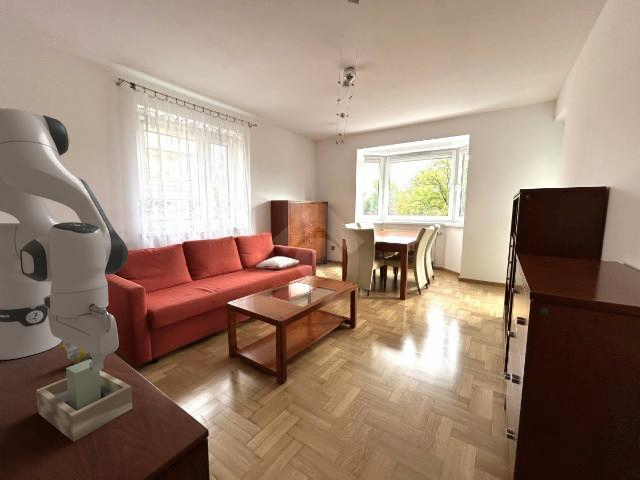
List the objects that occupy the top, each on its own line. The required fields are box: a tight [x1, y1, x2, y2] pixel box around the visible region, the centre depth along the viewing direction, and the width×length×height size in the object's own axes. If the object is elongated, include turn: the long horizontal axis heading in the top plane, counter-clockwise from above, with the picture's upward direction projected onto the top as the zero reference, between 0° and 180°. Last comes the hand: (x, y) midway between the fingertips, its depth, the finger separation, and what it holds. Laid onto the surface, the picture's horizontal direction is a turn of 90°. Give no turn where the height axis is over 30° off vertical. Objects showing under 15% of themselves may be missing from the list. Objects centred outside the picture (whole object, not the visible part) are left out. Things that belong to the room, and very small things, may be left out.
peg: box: [66, 359, 101, 411], centre depth 57 cm, size 4×4×10 cm
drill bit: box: [59, 344, 92, 365], centre depth 74 cm, size 5×5×10 cm
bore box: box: [35, 370, 133, 443], centre depth 57 cm, size 16×10×5 cm, turn 63°
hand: (84, 363), depth 57 cm, fingers open, 8 cm apart
